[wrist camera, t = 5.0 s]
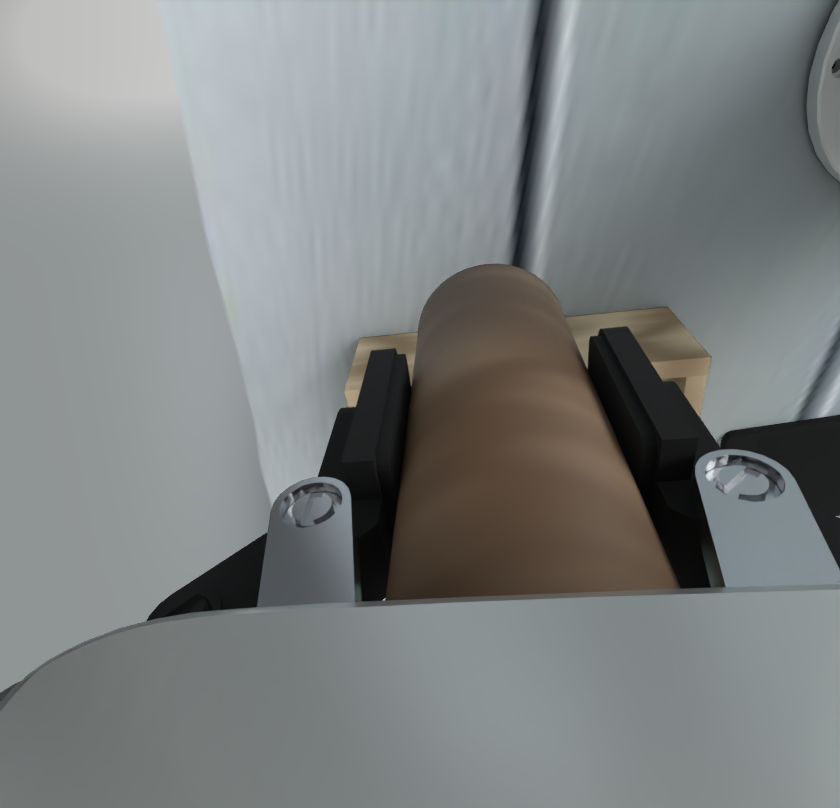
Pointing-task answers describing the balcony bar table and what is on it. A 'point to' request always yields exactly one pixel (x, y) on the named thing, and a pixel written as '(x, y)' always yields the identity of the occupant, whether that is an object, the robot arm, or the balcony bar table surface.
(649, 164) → the balcony bar table surface
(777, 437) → the cell phone
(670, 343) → the box
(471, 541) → the peg
